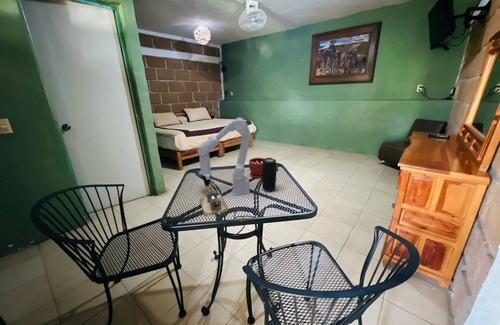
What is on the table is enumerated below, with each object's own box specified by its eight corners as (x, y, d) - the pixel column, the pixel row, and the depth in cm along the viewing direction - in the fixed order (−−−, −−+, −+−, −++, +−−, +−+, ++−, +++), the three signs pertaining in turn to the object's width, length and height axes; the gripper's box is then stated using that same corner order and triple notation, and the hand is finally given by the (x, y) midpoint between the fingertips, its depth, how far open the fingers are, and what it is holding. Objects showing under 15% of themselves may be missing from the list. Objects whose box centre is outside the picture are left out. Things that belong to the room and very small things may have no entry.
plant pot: (245, 175, 148) (245, 160, 144) (258, 171, 156) (258, 156, 152) (258, 181, 138) (258, 164, 135) (271, 175, 147) (271, 160, 143)
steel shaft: (212, 190, 119) (211, 184, 118) (219, 205, 103) (218, 198, 102) (205, 191, 118) (204, 185, 117) (211, 206, 102) (210, 199, 101)
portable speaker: (262, 193, 121) (262, 162, 115) (261, 186, 130) (261, 157, 124) (276, 192, 121) (277, 161, 115) (274, 186, 130) (275, 157, 124)
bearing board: (221, 197, 117) (220, 186, 115) (228, 210, 103) (228, 199, 101) (200, 201, 113) (198, 190, 111) (205, 216, 99) (203, 204, 97)
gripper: (196, 162, 123) (198, 182, 127) (200, 169, 110) (202, 192, 115) (208, 160, 125) (209, 180, 130) (212, 168, 113) (214, 190, 117)
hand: (207, 186), depth 122 cm, fingers closed
